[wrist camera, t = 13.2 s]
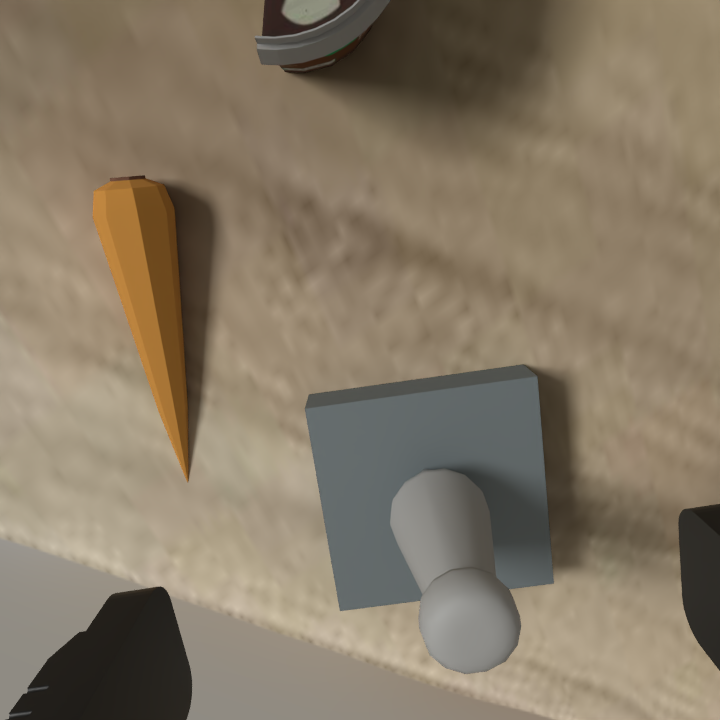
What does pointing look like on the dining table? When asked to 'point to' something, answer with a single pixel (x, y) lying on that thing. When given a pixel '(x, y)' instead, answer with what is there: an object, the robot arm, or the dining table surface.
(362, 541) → the base plinth
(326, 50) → the food container
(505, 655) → the salt shaker
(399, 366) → the dining table surface
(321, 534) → the dining table surface
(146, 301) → the carrot
